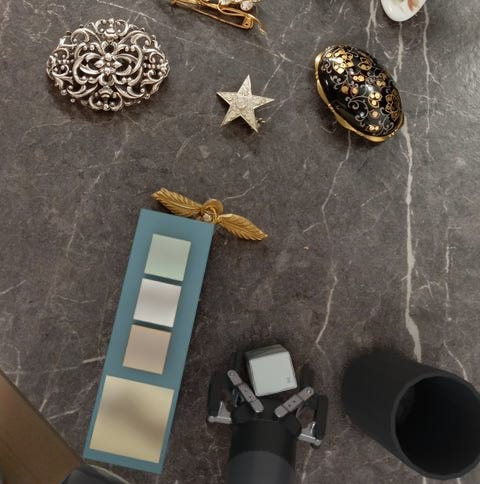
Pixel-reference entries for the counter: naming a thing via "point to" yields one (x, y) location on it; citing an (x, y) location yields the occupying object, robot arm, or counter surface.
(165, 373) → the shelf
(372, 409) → the vase
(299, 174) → the counter surface
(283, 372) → the box
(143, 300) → the block line
